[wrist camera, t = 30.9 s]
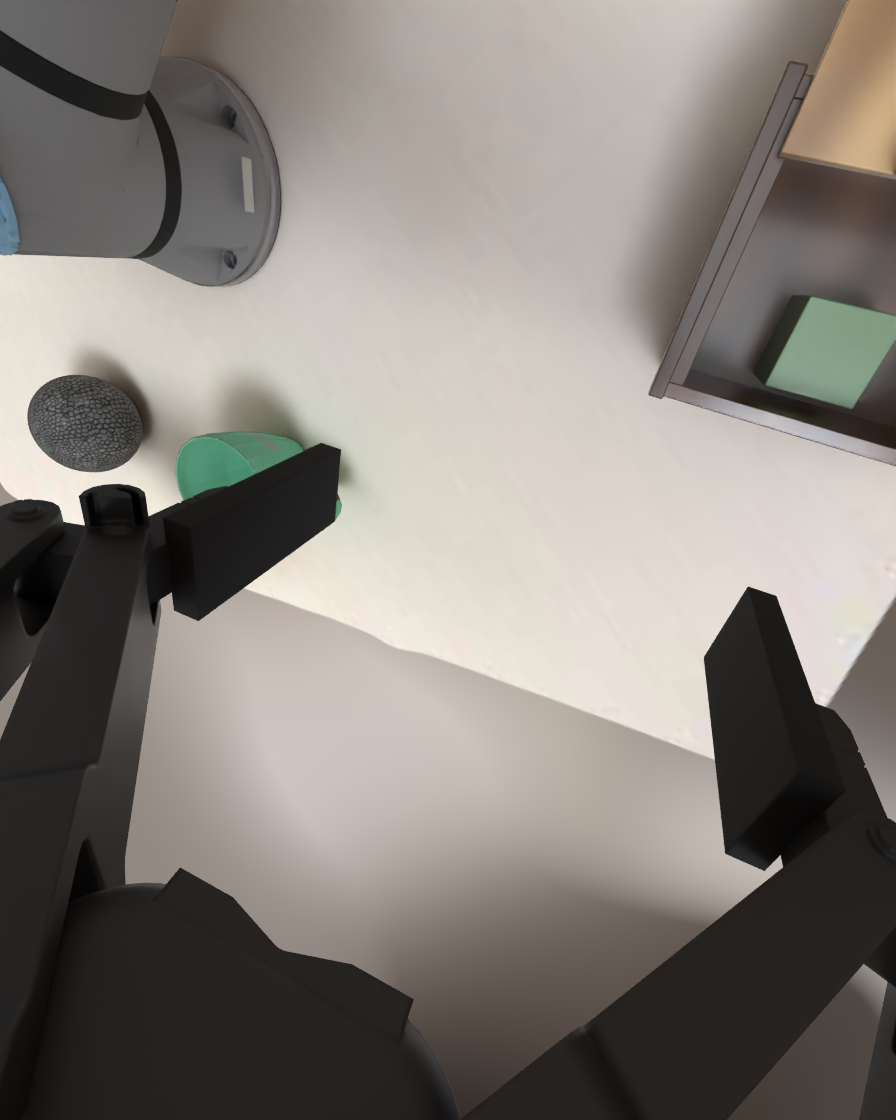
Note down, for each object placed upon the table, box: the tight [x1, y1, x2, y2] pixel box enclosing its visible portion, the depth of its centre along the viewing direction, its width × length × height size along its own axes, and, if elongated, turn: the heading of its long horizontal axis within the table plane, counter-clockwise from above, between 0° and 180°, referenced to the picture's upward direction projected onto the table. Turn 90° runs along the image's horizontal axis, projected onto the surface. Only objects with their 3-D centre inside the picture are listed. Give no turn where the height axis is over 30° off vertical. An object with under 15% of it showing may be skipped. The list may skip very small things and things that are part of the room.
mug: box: [176, 432, 342, 531], centre depth 49 cm, size 15×10×10 cm
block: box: [754, 295, 896, 409], centre depth 31 cm, size 5×5×5 cm
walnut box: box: [649, 61, 896, 466], centre depth 28 cm, size 18×14×11 cm
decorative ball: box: [28, 375, 143, 472], centre depth 55 cm, size 10×10×10 cm
